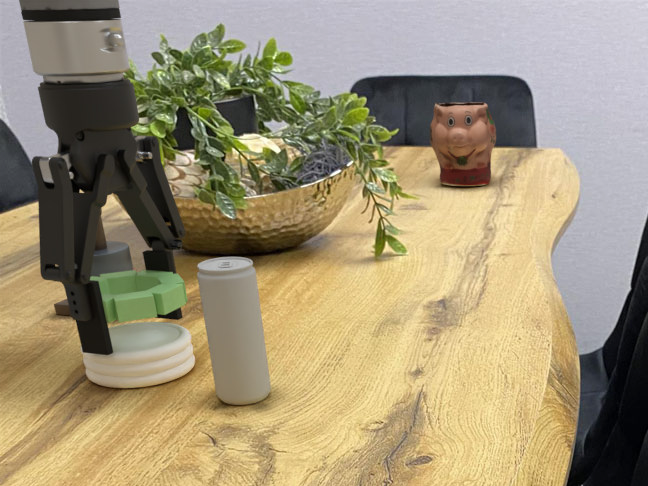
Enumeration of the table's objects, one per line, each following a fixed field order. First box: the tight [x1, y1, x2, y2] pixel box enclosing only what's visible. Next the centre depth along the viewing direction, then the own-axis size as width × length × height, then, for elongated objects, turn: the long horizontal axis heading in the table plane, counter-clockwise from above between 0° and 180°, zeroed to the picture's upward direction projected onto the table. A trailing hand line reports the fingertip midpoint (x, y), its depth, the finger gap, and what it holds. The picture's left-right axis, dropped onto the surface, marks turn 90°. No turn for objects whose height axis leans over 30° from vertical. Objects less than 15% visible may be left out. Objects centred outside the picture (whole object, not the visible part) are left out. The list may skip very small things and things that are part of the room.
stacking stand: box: [53, 208, 138, 317], centre depth 109 cm, size 8×8×12 cm
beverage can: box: [196, 256, 272, 406], centre depth 84 cm, size 5×5×12 cm
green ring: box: [90, 269, 189, 324], centre depth 89 cm, size 10×10×2 cm
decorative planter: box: [429, 101, 497, 187], centre depth 177 cm, size 20×12×14 cm, turn 5°
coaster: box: [80, 321, 196, 389], centre depth 92 cm, size 10×10×4 cm
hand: (135, 334), depth 91 cm, fingers closed on green ring, 10 cm apart
